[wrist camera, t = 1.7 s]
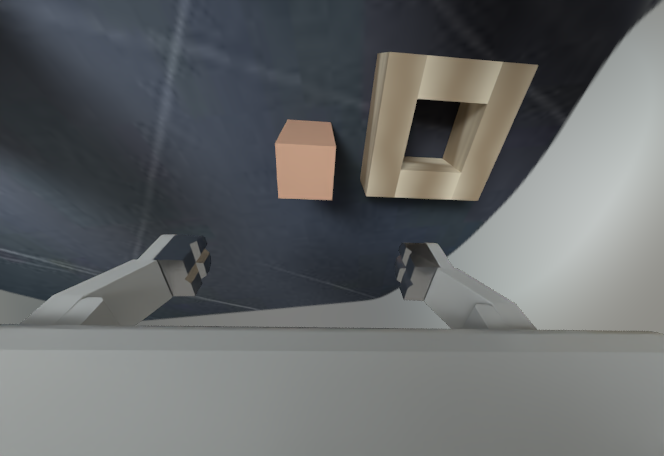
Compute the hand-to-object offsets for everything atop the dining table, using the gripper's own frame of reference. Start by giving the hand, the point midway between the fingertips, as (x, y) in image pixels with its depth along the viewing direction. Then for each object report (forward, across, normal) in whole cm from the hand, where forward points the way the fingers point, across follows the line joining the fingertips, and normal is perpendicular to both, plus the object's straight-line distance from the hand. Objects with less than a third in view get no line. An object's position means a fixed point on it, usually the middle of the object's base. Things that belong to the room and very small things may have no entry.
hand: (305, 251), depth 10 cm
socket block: (+16, -10, -2) cm, 20 cm away
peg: (+16, +1, 0) cm, 16 cm away
